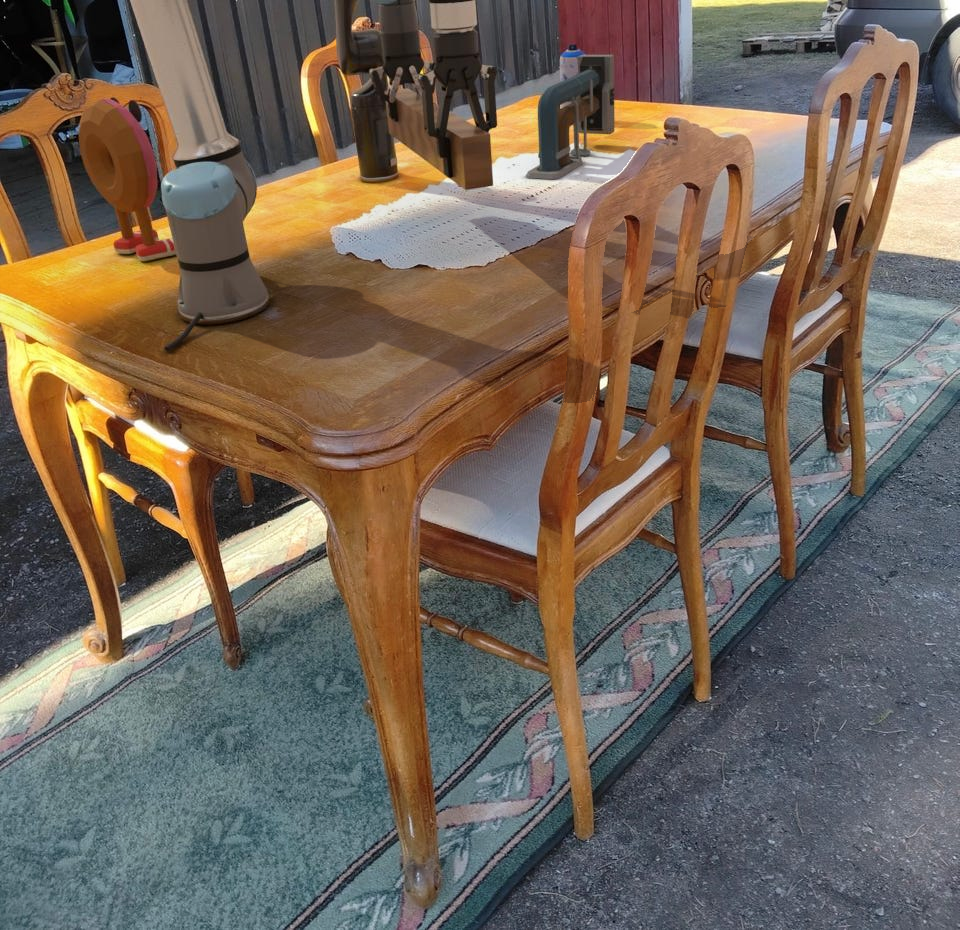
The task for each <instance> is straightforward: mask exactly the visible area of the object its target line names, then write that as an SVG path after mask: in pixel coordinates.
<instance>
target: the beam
mask: <svg viewBox="0 0 960 930" xmlns="http://www.w3.org/2000/svg"><path fill="white" fill-rule="evenodd" d="M385 94H387V91H385ZM395 102H396V105H397V115H398V122H394V121H393V120H392V119H391V118H390V117H389V112H388V103H387V101H386V108H387V117H388V126H389V134H390V135H392V136H393V137H394V139H395V140H397V141H398V142H400V143H401V144H402V145H404V146H405V147H407V148H408V149H410V150H411V151H412V152H413V153H415V154H416V155H417V156H419V158H421V159H423V160H424V161H426V163H428V164H430V165H431V166H432V167H434V168H435V169H436V170H438V171H439V172H440V173H442V174H443V175H444V166H443V158H440V157H439V156H438V154H437V145H436V138H435V137H431V136H429V135H427V134H426V133H425V131H424V117H423V103H422V96H421V95H419V94H417V93H416V91H413V90H412V89H410V88H408V87H407V88H400V89H399V88H398V91H397V93H396V98H395ZM433 106H434V121H435V128H436V122H437V115H438V109H439V104H437V103H435V102H433ZM446 137H448V138H449V139H450V145H451V159H452V172H453V177H452V178H449V180H451V181H452V182H454V183H455V184H456V185H458V186H459V187H460V188H462V189H463V190H465V191H469V190H475V189H482V188H488V187H493V186H494V178H493V177H494V176H493V158H492V142H491V141H492V140H491V133H490V132H489V133H488V132H486V131H484V130H482V129H480V128H478V127H477V126H476V125H475V124H473V123H471V122H470V121H468V120H466V119H464V118H462V117H461V116H459V115H457V114H455V113H454V112H452V111H450V112H449V118H448V124H447V130H446Z"/></svg>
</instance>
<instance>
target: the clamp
mask: <svg viewBox="0 0 960 930" xmlns="http://www.w3.org/2000/svg"><path fill="white" fill-rule="evenodd" d="M577 58H578V74H577V75H575V76H573V77H570V78H568V79H566V80H564V81H562V82H560V81H559V82H558V83H555V84H553V85H551V86H549V87H547V88H546V90H545V91H544V92H543V93H542V94H541V96H540V98H539V100H538V103H537V130H538V131H537V132H538V133H537V134H538V154H537V157H538V159H539V164H538V165H536V166H535V167H533V168H531V169H530V170H528V171H527V172H526V174H525V177H526V178H530V179H545V180H557V179H561V178H562V177H563V176H565V175H566V174H569V173H570V172H571V171H573V170H574V169H575V170H576V169H577V168H578V167H580V166H581V165H583V164H585V163H584V161H583V158H582V156H589V155H590V154H591V153H592V152H591V150H590V149H589V148H588V147H587V146H588V143H587V140H588V139H587V136H588V135H590V134H592V135H611V134H613V133H615V55H614V54H585V55H580V56H578V57H577ZM571 101H572V102H573V103H571V104H569V105H567V106H565V107H563V108H561V104H563V103H565V102H571ZM571 127H573V149H571V146H570V145H571V144H570V128H571ZM580 134H583V148H580Z"/></svg>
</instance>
